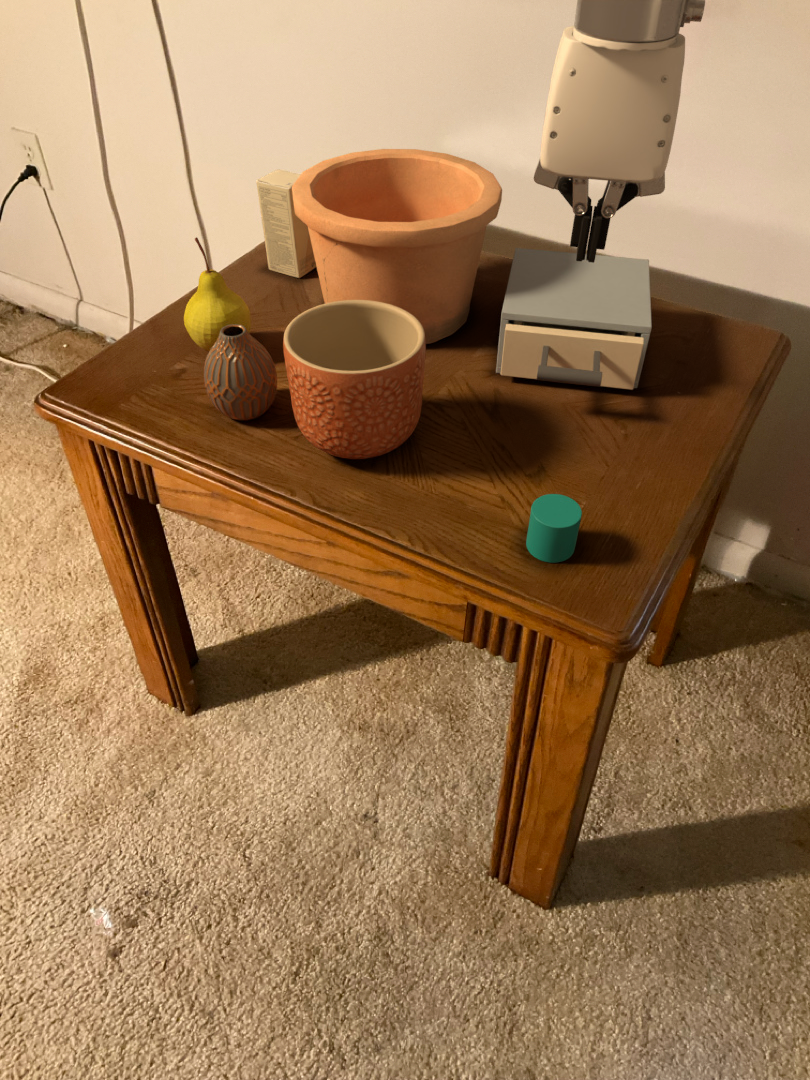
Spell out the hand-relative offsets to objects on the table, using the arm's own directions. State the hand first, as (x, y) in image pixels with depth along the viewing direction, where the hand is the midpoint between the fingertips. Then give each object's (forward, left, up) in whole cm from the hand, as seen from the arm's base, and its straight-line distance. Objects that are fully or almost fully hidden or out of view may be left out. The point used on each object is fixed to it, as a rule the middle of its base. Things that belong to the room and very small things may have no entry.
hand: (585, 254), depth 72 cm
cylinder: (0, +22, -15) cm, 26 cm away
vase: (+31, +8, -15) cm, 35 cm away
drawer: (0, -5, -14) cm, 15 cm away
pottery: (+20, -14, -15) cm, 29 cm away
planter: (+19, +10, -15) cm, 26 cm away
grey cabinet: (0, -10, -15) cm, 18 cm away
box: (+35, -22, -15) cm, 44 cm away
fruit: (+37, -2, -15) cm, 40 cm away
